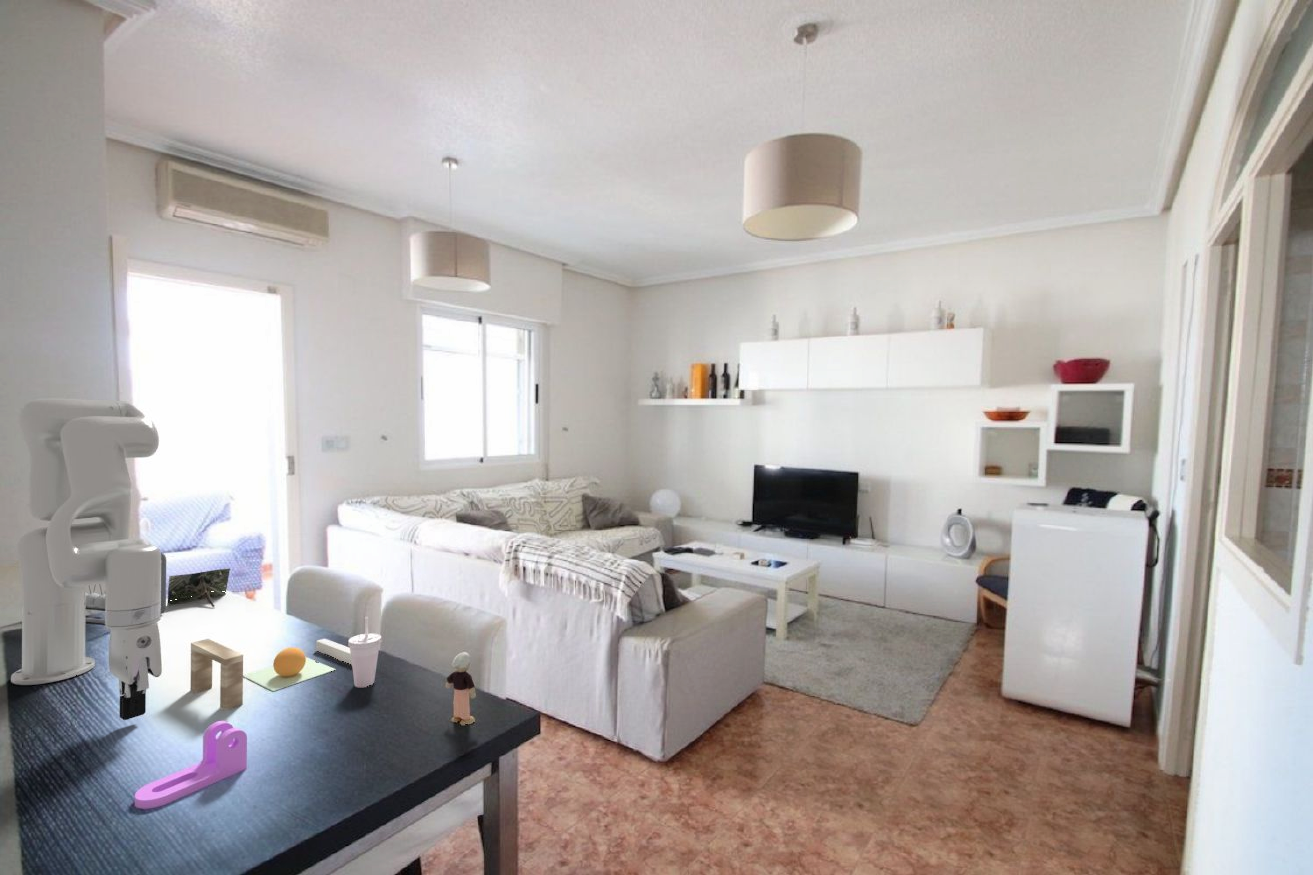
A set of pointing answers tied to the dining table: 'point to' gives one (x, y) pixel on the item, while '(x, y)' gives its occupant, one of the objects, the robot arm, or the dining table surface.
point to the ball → (289, 662)
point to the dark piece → (197, 586)
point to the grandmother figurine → (461, 689)
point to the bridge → (229, 673)
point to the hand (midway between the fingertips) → (132, 715)
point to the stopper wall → (334, 650)
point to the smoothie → (364, 656)
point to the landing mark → (276, 682)
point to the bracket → (200, 767)
